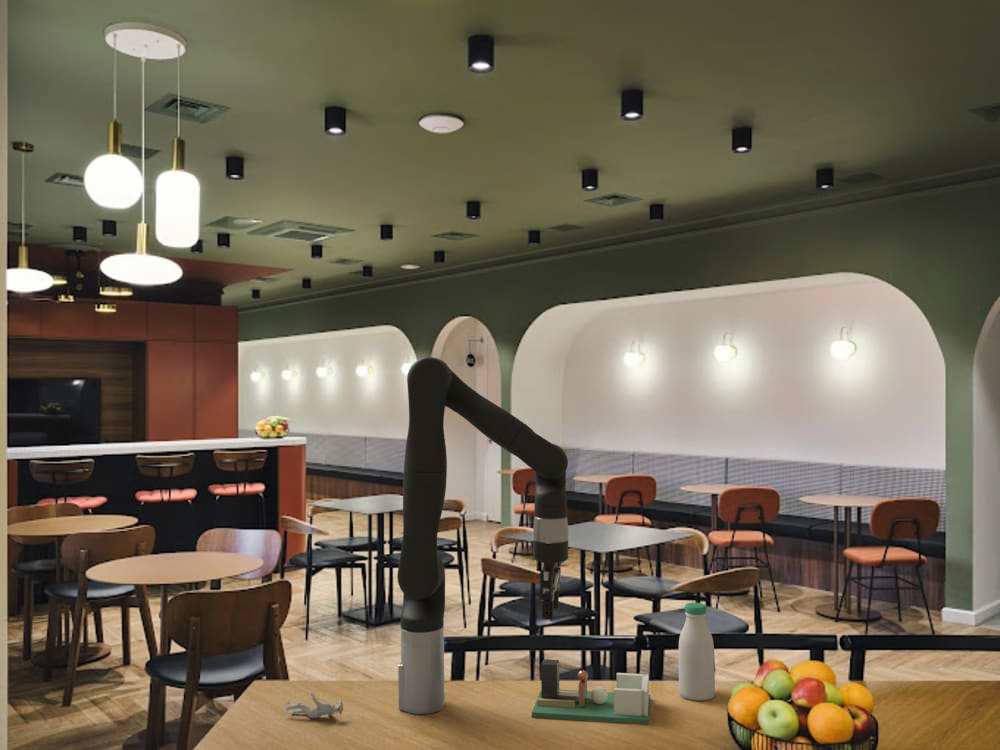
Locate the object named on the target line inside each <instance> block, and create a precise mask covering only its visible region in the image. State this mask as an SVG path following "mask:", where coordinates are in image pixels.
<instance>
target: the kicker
mask: <svg viewBox="0 0 1000 750" xmlns="http://www.w3.org/2000/svg"><path fill="white" fill-rule="evenodd" d="M540 670H541V671H540V672H541V673H540V675H541V678H540V679H541V682H540V683H541V689H542V698H544V699H561V700H575V702H579V706H580V707H585V703H586V699H587V691H588V677H589V673H588V672H587V671H586V670H584V669H583V670H579V671H578V672H577V678H578V680H579V683H578V691H579V694H577V693H560V692H559V689H560V659H546V658H545V659H544V658H543V660H542V662H541V663H540Z"/></svg>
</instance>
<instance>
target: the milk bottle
mask: <svg viewBox="0 0 1000 750" xmlns="http://www.w3.org/2000/svg"><path fill="white" fill-rule="evenodd" d="M684 615H685V617H686V618H685V622H684V625H683V627H682V629H681V632H680V634H679V638H678V639H679V640H678V692H679V695H680V696H681V698H684V699H686V700H690V701H698V702H699V701H702V702H703V701H708V700H711V699H713V698H714V697H715V693H716V690H715V689H716V688H715V687H716V685H715V684H716V683H715V679H716V678H715V676H716V675H715V648H714V647H715V646H714V639H713V635H712V633H711V631H710V628H709V626H708V624H707V621H706V616H707V605H706V604H704V603H701V602H689V603H686V604H685V605H684Z"/></svg>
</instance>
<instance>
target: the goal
mask: <svg viewBox="0 0 1000 750" xmlns="http://www.w3.org/2000/svg"><path fill="white" fill-rule="evenodd" d="M649 677H650V676H649V674H646V673H645V674H644V673H629V672H628V673H627V672H616V687H614V688H613V693H614V714H622V715H638V716H648V702H649V695H650V691H649V690H650V688H649V687H650V685H649V684H650V681H649Z"/></svg>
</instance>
